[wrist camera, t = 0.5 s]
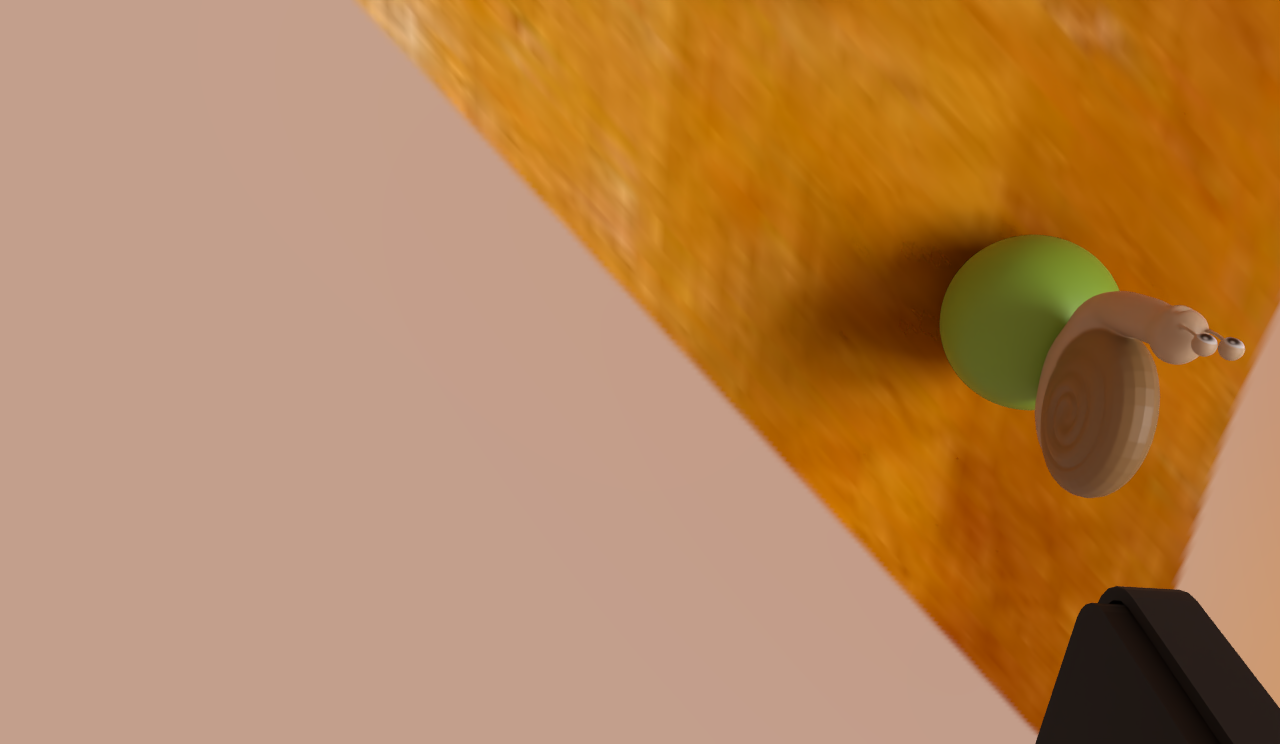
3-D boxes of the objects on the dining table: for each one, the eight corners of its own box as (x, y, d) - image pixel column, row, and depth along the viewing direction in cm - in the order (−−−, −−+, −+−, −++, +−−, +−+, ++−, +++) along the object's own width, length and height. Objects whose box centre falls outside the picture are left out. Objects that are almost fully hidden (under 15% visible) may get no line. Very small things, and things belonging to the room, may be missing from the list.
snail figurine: (1117, 196, 36) (1340, 356, 25) (1051, 373, 39) (1227, 586, 28) (956, 169, 35) (1114, 322, 25) (900, 351, 38) (1021, 560, 27)
